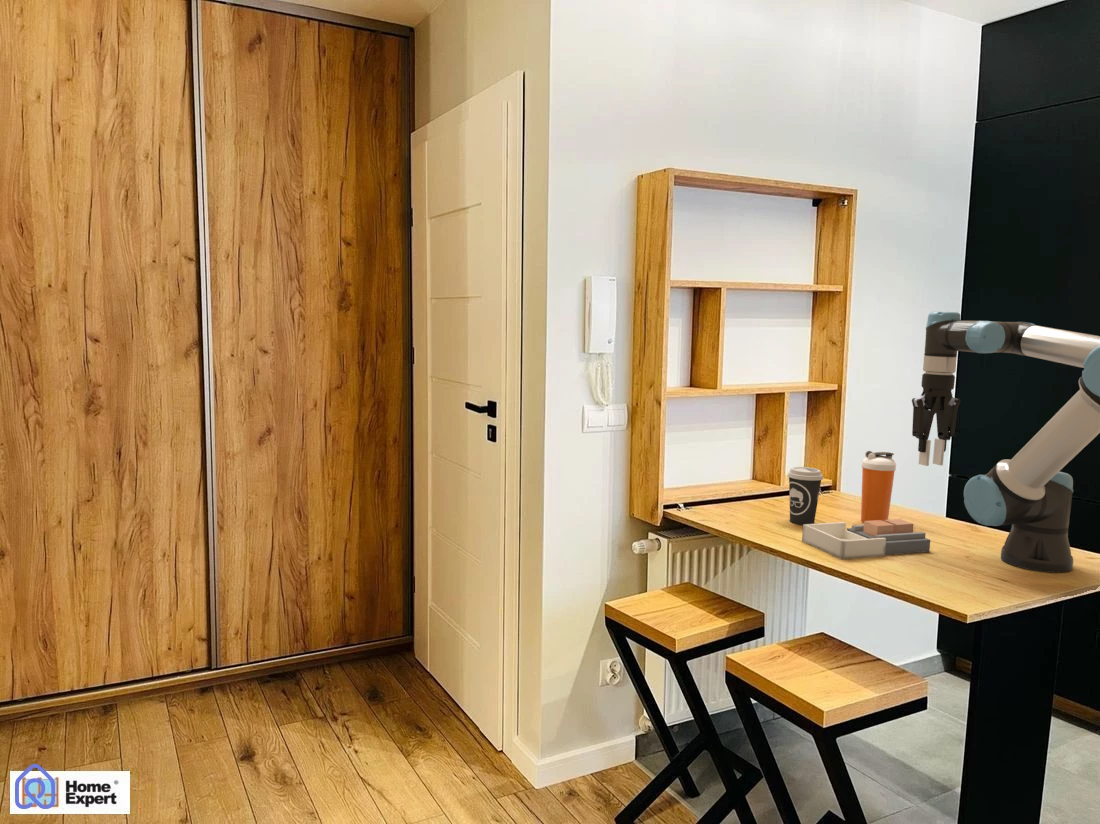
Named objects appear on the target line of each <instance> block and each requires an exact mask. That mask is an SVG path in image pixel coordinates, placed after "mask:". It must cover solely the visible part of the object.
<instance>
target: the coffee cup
mask: <svg viewBox="0 0 1100 824" xmlns="http://www.w3.org/2000/svg"><path fill="white" fill-rule="evenodd" d="M787 477H788V486H789V487H788V489H789V497H788V498H789V522H790V523H792V524H793V525H797V526H803V524H815V519H816V513H817V507H818V502H819V496H820V490H821V485H822V480H824V476H823V474H822V472H821V470H820V469H818V468H815V467H809V466H807V467H806V466H792V467H791V468H790V470H789V471H788V473H787Z"/></svg>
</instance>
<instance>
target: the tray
mask: <svg viewBox="0 0 1100 824" xmlns="http://www.w3.org/2000/svg"><path fill="white" fill-rule="evenodd" d="M801 542H803V543H804V544H807V545H809V546H812V547H813V548H815V549H818V550H821V551H822V552H825V553H827V554H828V555H831V556H833V557H836V558H838V559H840V560H851V559H865V558H878V557H879V558H880V557H885V556H886V555H885V545H886V538H872V539H867V538H865V537H862V536H860V535H857V534H855V533H853V532H850V531H848V530H847V522H845V521H839V522H823V523H821V522H820V523H814V524H803V525H802V536H801Z"/></svg>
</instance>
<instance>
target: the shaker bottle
mask: <svg viewBox="0 0 1100 824" xmlns="http://www.w3.org/2000/svg"><path fill="white" fill-rule="evenodd" d="M894 455H895V453H893V452H889V451H888V452H887V451H878V452H873V451H872V450H868V451H866V452H865V456H864V457H863V460H861V468H862V469H861V470H862V471H861V474H862V475H861V476H862V477H861V508H860V509H861V510H860V522H861V523H863V524H864V521H873V520H882V521H884V520H889V516H890V508H891V499H892V492H893V486H894V485H893V484H894V478H895V477H894V476H895V471H897V469H896V467H897V463H896V461H895V460H894V459H893V456H894Z"/></svg>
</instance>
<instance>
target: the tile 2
mask: <svg viewBox="0 0 1100 824" xmlns="http://www.w3.org/2000/svg"><path fill="white" fill-rule="evenodd" d="M884 522H887V523H890V524H893V525H894V531H893V534H899V533H914V523H912V522H910V521H907V520H903V519H901V518H892V519H888V520H884Z"/></svg>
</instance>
